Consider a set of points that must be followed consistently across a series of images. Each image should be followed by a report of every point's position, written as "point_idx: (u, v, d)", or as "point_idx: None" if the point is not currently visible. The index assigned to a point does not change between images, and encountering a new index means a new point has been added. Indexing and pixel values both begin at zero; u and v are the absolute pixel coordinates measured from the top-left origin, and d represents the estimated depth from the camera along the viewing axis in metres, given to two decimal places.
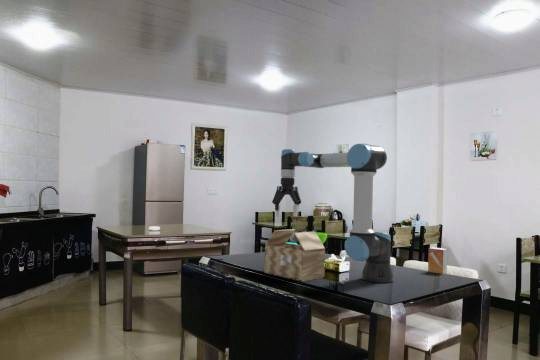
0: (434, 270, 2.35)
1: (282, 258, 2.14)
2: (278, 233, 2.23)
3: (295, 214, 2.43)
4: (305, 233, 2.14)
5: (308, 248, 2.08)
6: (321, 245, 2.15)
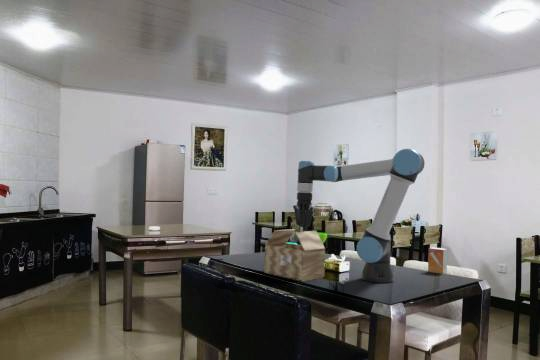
0: (434, 270, 2.35)
1: (282, 258, 2.14)
2: (278, 233, 2.23)
3: None
4: (306, 232, 2.14)
5: (308, 248, 2.08)
6: (321, 245, 2.15)
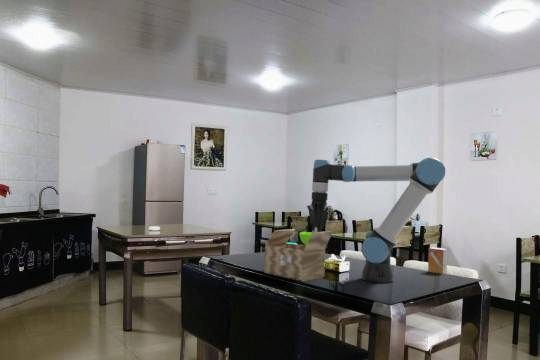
0: (434, 270, 2.35)
1: (282, 258, 2.14)
2: (278, 233, 2.23)
3: None
4: (321, 233, 2.07)
5: (309, 249, 2.07)
6: (324, 246, 2.14)
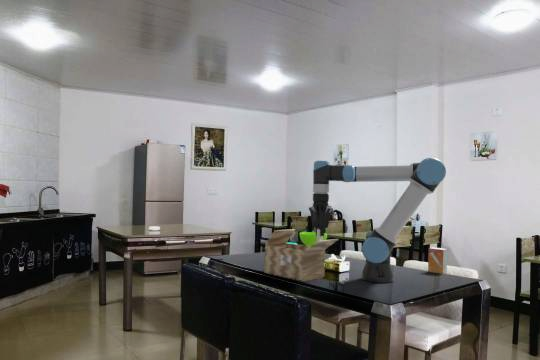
0: (434, 270, 2.35)
1: (282, 258, 2.14)
2: (278, 233, 2.23)
3: None
4: (327, 241, 2.05)
5: (310, 250, 2.07)
6: (325, 248, 2.14)
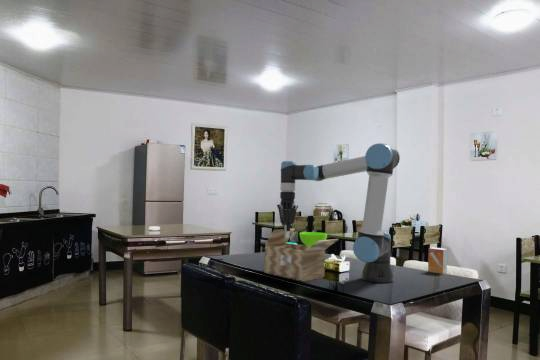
0: (434, 270, 2.35)
1: (282, 258, 2.14)
2: (277, 232, 2.23)
3: None
4: (327, 241, 2.05)
5: (310, 250, 2.07)
6: (325, 248, 2.14)
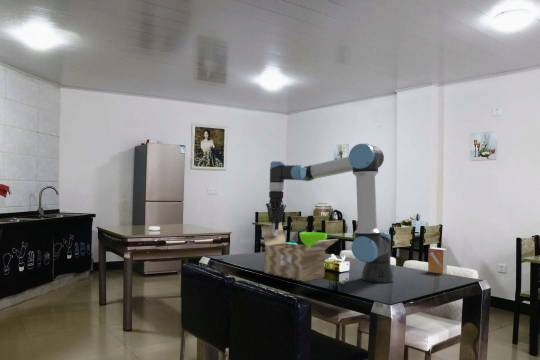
0: (434, 270, 2.35)
1: (282, 258, 2.14)
2: (267, 229, 2.29)
3: None
4: (327, 241, 2.05)
5: (310, 250, 2.07)
6: (325, 248, 2.14)
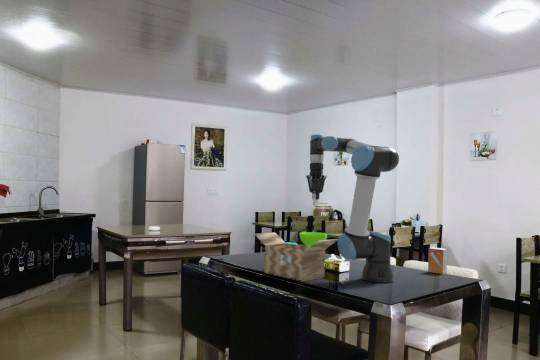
0: (434, 270, 2.35)
1: (282, 258, 2.14)
2: (261, 235, 2.31)
3: None
4: (327, 241, 2.05)
5: (310, 250, 2.07)
6: (325, 248, 2.14)
